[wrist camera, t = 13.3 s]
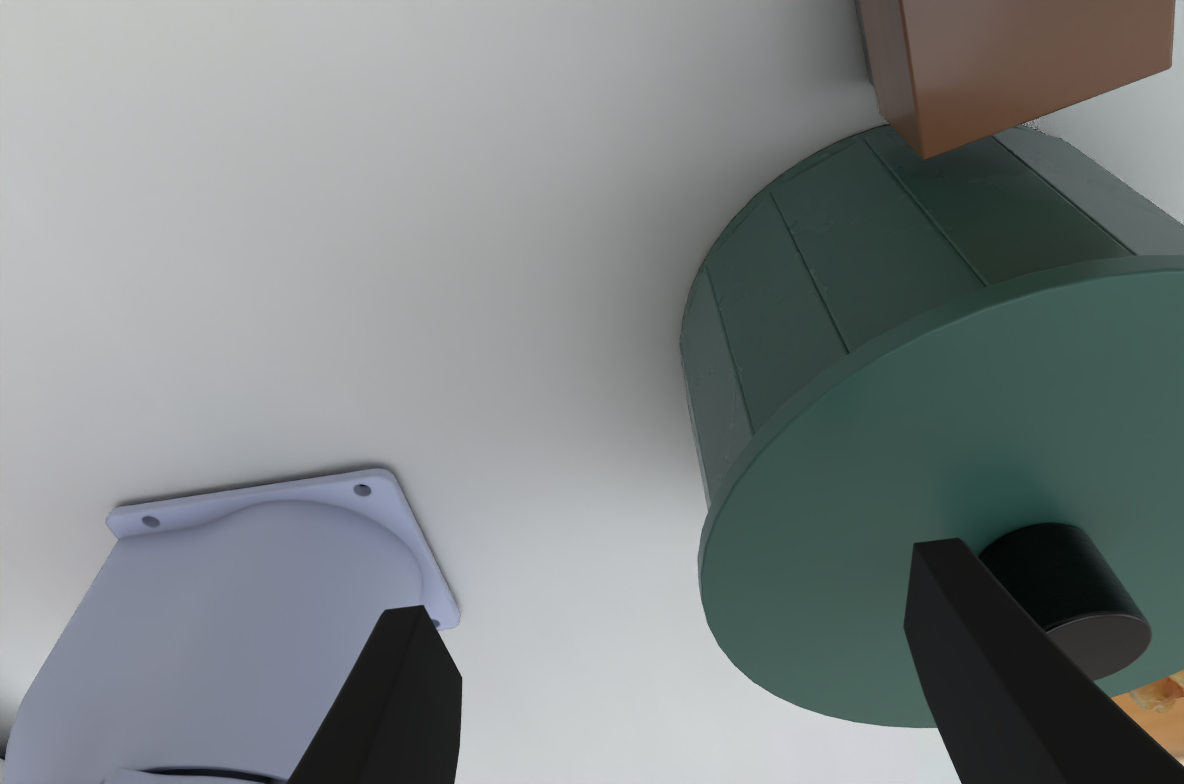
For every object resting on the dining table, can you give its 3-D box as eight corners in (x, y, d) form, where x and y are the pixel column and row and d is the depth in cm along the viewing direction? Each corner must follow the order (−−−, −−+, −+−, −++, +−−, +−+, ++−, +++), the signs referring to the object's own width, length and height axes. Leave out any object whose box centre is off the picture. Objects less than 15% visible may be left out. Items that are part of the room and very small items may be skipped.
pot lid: (718, 712, 20) (738, 840, 18) (656, 308, 12) (677, 437, 10) (1231, 653, 19) (1329, 782, 16) (1521, 164, 11) (1789, 271, 9)
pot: (700, 502, 25) (740, 723, 19) (654, 165, 18) (694, 350, 12) (1070, 450, 24) (1233, 667, 18) (1178, 69, 17) (1503, 220, 11)
